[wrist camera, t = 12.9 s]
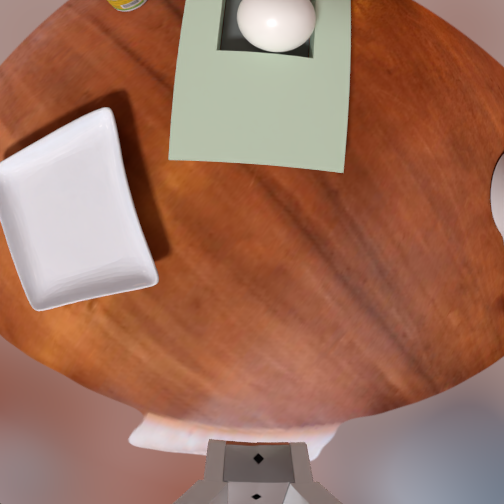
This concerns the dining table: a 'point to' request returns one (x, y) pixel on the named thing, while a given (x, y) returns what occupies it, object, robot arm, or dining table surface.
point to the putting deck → (261, 91)
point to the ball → (276, 23)
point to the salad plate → (74, 216)
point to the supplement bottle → (126, 4)
